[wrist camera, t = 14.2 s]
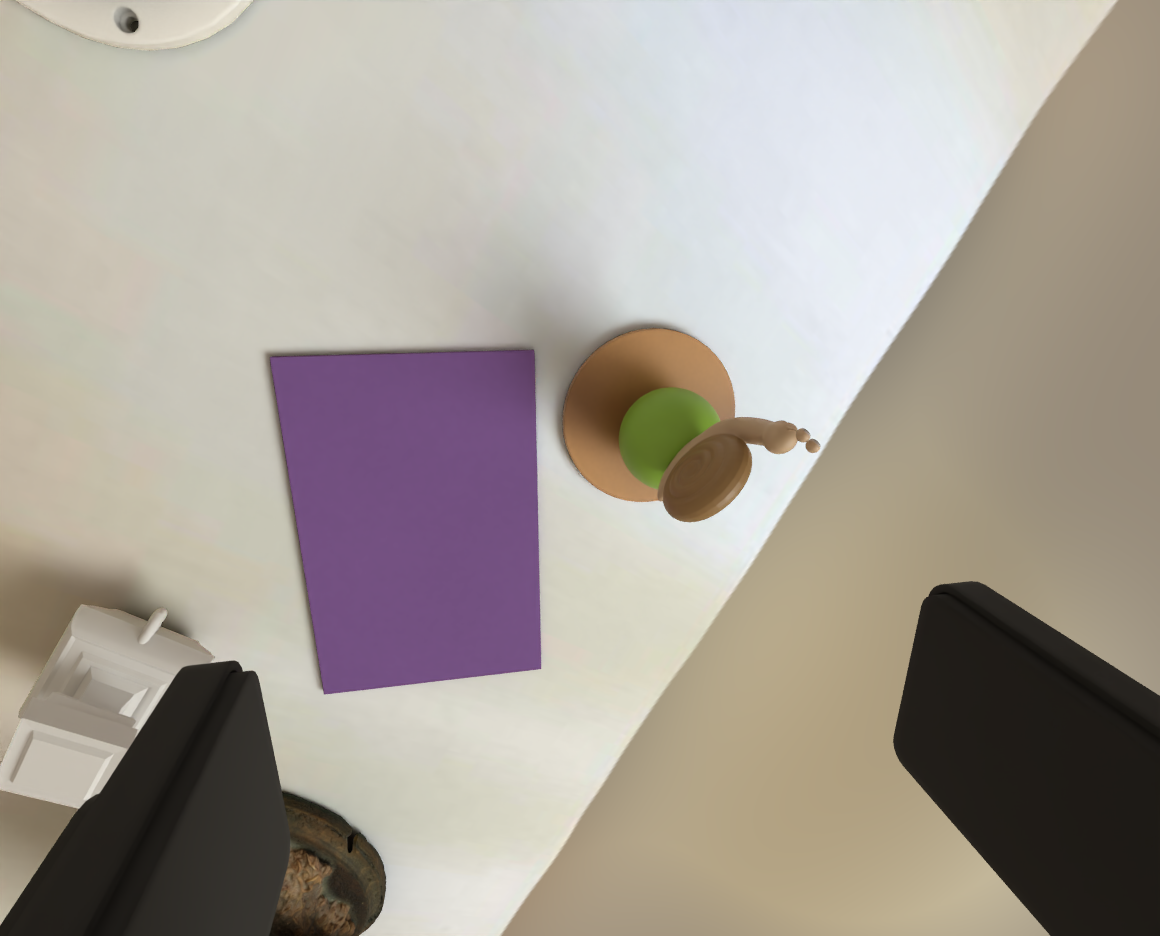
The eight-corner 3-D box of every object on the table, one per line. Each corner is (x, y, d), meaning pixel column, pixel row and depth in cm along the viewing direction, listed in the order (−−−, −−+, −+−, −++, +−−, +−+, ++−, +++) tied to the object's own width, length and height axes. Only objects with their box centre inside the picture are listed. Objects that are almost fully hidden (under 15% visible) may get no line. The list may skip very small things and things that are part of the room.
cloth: (270, 356, 31) (269, 357, 30) (533, 349, 33) (534, 350, 33) (324, 691, 37) (324, 694, 37) (540, 666, 40) (541, 669, 39)
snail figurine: (731, 407, 36) (857, 479, 25) (654, 489, 36) (742, 594, 25) (668, 344, 34) (773, 390, 23) (588, 431, 35) (652, 518, 23)
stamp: (115, 561, 33) (8, 659, 25) (240, 613, 35) (179, 719, 27) (43, 690, 34) (-79, 821, 26) (168, 732, 36) (90, 865, 28)
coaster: (561, 329, 33) (563, 330, 33) (738, 326, 35) (742, 327, 34) (562, 504, 36) (564, 508, 36) (724, 493, 38) (728, 496, 38)
